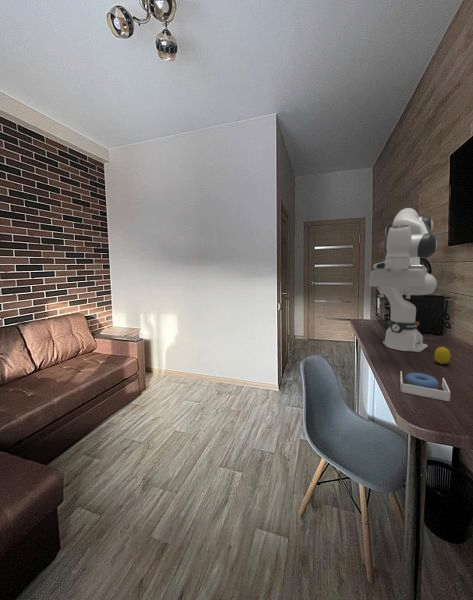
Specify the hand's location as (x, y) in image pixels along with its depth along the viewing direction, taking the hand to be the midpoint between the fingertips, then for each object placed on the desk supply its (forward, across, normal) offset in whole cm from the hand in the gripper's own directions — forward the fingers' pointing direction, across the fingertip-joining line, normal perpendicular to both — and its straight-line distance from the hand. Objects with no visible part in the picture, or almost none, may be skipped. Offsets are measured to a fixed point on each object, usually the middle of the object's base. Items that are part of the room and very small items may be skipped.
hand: (394, 298), depth 113 cm
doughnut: (+30, -10, +19) cm, 37 cm away
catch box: (+29, -10, +21) cm, 37 cm away
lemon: (+29, -20, -12) cm, 37 cm away
